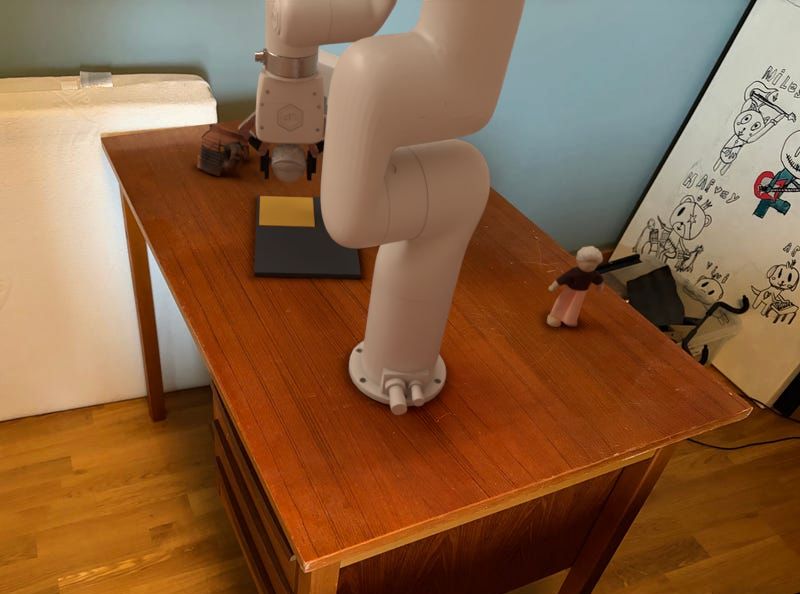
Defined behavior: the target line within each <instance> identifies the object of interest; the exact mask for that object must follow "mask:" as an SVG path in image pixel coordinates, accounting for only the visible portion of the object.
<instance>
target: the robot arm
mask: <svg viewBox="0 0 800 594" xmlns="http://www.w3.org/2000/svg"><path fill="white" fill-rule="evenodd" d="M397 3H398V0H265V40H264V41H265V42H264V43H265V45H264V46H265V48H262V49H263V50H260V51H257V50H256V51H255V52H254V62H256V63H257V62H260V64H262V65H263V66H262V67H261V68H260V70H259V71H260V72H259V76H258V80H257V88H256V100H255V101H256V103H255V104H256V105H255V110H254V111H253V112H252V113H251V114H250V115H248V117H247V118H245V119H244V120H243V121H242V122H241V123H240V124H239V125H238V127H237V129H238V130H237V133H240V134H241V135H242V136H243V137H244V138H245V139H246V140H247V141H248V145H249V146H251V147H252V148H253V149H254V150H255V151H256V152H257V153H258V155H259V172H260V173H261V172H263V173H264V178H263V179H264V180H269V179H270V164H269V158H270V146H271V144H282V143H289V144H297V145H307V147H308V150H307V151H306V159H307V161H308V164H307V167H306V168H305V170H306V180H307V181H308V182H312V179H313V178H312V176H313V174H317V162H318V158H319V156H320V155H321V153H323V154H322V165H321V175H320V177H321V179H320V197H321V211H322V217H323V221H324V224H325V227H326V229H327V232H328V233H329V235H330V236H331V238H332V239H333V240H334V241H335V242H337V243H338V244H339V245H342V246H344V247H347V248H354V249H357V250H359V249H366V248H372V247H378V246H379V248H378V250H377V253H376V256H375V257H376V258H375V263H374V269H373V275H372V283H371V290H370V297H369V304H368V310H367V311H368V312H367V319H366V325H365V333H364V339H363V340H362V341H360V342H359V343H358V344H356V346H355V347H354V348H353V349H352V352H351V353H350V356H349V361H348V373H349V377H350V378H351V380H352V383H353V384H354V385H355V386H356V387H357V389H358V390H359V391H360V392H362V393H363V394H364V395H365V396H367V397H369V398H370V399H372V400H374V401H377V402H379V403H382V404H385V405H389V407H390V411H391V414H393V415H395V416H400V415H404V414H405V413H406V412H407V411H408V407H413V406H415V407H421V406H423V405H424V404H425V403H427V402H429V401H431V400H433V399H434V398H435V397H437V396H438V394H440V392H441V391H442V389H443V388H444V385H445V382H446V378H447V367H446V364H445V362H444V359H443V357H442V356H441V355H440V351H441V347H442V343H443V338H444V335H445V331H446V326H447V322H448V318H449V315H450V310H451V306H452V302H453V298H454V295H455V289H456V286H457V284H458V279H459V276H460V271H461V267H462V264H463V261H464V257H465V254H466V251H467V248H468V246H469V244H470V240H471V239H472V237H473V234H474V232H475V230H476V229H477V226H478V225H479V223H480V221H481V218H482V217H483V214H484V212H485V209H486V206H487V204H488V201H489V196H490V190H491V177H490V170H489V166H488V163H487V161H486V159H485V157H484V155H483V154H482V152H481V151H480V150H478V148H477V147H476V146H474V145H472V144H471V143H469V142H467V141H464V140H462V139H459V138H464V137H467V136H471V135H473V134H475V133H478V132H480V131H481V130H483V129H484V128H485V127H486V126H487V125H488V124H489V122H491V119H492V118H493V115H494V113H495V111H496V108H497V105H498V102H499V99H500V95H501V94H502V93H501V92H502V89H503V86H504V82H505V79H506V75H507V71H508V67H509V63H510V61H511V57H512V53H513V49H514V46H515V42H516V38H517V35H518V32H519V31H518V30H519V27H520V25H521V19H522V17H523V12H524V8H525V4H526V0H422V3H421V9H420V13H419V17H418V21H417V23H415V26H414V27H413V28H412V29H411V30H410V31H407V32H399V33H398V32H397V33H387V34H379V35H376V34H377V33H379V31H380V30H381V28H382V27H383V26H384V25H385V23H386V21H387V20H388V18H389V17H390V15H391V14H392V12H393V10H394V9H395V7H396V5H397ZM350 43H351V44H350ZM336 44H339V45H340V44H350V45H349V46H347V47H346V49H345V50H343V52H342V53H341V54H340V58H339V60H338V62H337V64H336V66H335V68H334V71H333V74H332V78H331V83H330V89H329V97H328V107H327V116H326V115H325V114H324V83H323V76H322V73H321V71H320V70H319V69H318V53H319V49H320V47H321V46H328V45H336ZM254 127H255V132H253V131H252V128H254ZM324 128H325V129H326V130H325V136H323V129H324Z"/></svg>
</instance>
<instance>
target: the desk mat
mask: <svg viewBox="0 0 800 594" xmlns="http://www.w3.org/2000/svg"><path fill="white" fill-rule="evenodd" d="M255 218H256V221H255V242H254V243H255V245H254V268H253V276H254V277H273V278H310V279H311V278H313V279H315V278H316V279H318V278H319V279H354V280H355V279H362V272H361V267H360V266H361V265H360V258H359V251H358V250H359V249H354V248H347V247H344V246H342V245H339V244H338V243H337V242H335V241H334V240H333V239H332V238H331V236H330V235H329V233H328V232H327V229H326V227H325V224H324V221H323V217H322V211H321V196H320V197H317V196H289V195H288V196H287V195H286V196H285V195H257V196H256V217H255Z"/></svg>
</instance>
